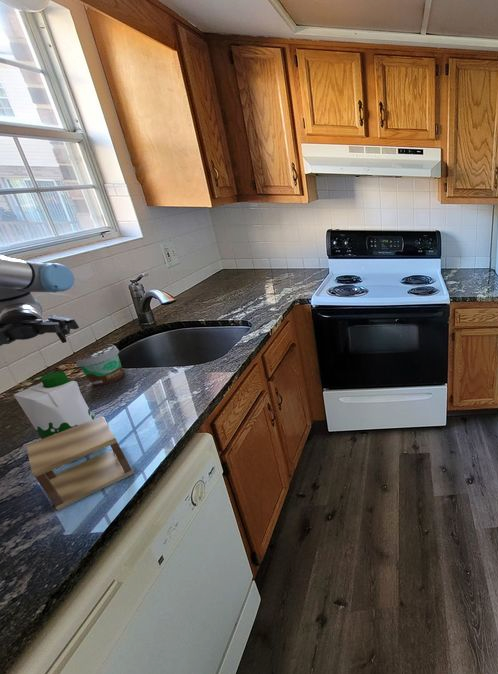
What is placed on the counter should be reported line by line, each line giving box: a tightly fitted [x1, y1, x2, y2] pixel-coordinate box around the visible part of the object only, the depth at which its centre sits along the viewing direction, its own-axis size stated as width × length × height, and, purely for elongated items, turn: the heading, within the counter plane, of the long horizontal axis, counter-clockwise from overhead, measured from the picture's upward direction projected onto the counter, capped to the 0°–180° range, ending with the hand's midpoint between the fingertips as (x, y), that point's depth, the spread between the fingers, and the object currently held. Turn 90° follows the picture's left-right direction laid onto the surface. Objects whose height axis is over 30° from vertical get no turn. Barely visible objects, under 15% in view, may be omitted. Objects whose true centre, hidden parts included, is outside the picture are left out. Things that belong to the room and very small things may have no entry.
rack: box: [25, 415, 135, 511], centre depth 79 cm, size 12×12×10 cm
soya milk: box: [13, 370, 95, 463], centre depth 86 cm, size 9×9×20 cm
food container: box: [75, 343, 125, 387], centre depth 119 cm, size 12×6×10 cm, turn 0°
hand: (21, 349), depth 83 cm, fingers open, 13 cm apart
